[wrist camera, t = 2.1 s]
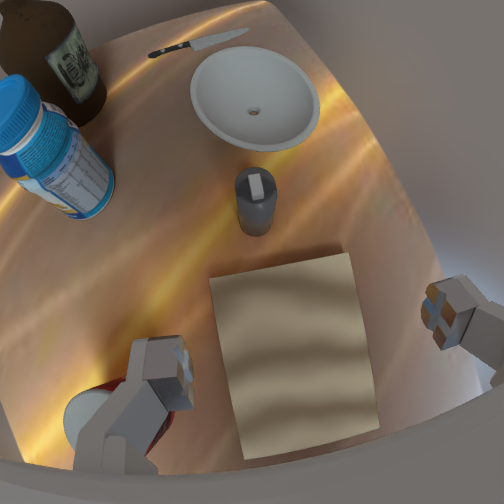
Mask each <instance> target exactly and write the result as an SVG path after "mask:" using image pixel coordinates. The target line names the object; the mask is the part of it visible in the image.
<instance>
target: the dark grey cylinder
mask: <svg viewBox="0 0 504 504" xmlns="http://www.w3.org/2000/svg"><path fill="white" fill-rule="evenodd" d="M235 192H236V200H237V208H238V216H239V222H240V226H241V228H242V230H243V231H244V232H245V233H246V234H248V235H250V236H262V235H264V234H265V233H267V232H268V231H269V229H270V228H271V225H272V220H273V215H274V210H275V205H276V199H277V188H276V184H275V180H274V178H273V176H272V175H271V174H270V173H269V172H268V171H267V170H265V169H262V168H259V167H251V168H248V169H245V170H243V171H242V172H241V173H240V174H239V175H238V176H237V178H236V181H235Z"/></svg>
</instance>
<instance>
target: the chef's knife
mask: <svg viewBox="0 0 504 504" xmlns="http://www.w3.org/2000/svg"><path fill="white" fill-rule="evenodd" d="M248 30H250V29H249V28H243V29H237V30H232V31H227V32H223V33H219V34H214V35H210V36H206V37H202V38H198V39H195V40H191V41H187V42H184V43H180V44H177V45H174V46H171V47H168V48H164V49H161V50H158V51H155V52H152V53H150V54H149V55H148V57H149V58H156V57H158V56H160V55H162V54H164V53H167V52H170V51H174V50H178V49H181V48H185V47H191V48H192V49H193V50H194V51H197V50H200V49H203V48H206V47H209V46H212V45H215V44H218V43H221V42H224V41H227V40H229V39H232V38H234V37H237V36H239V35H241V34H243V33H245V32H247V31H248Z"/></svg>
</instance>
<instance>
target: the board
mask: <svg viewBox="0 0 504 504" xmlns="http://www.w3.org/2000/svg"><path fill="white" fill-rule="evenodd" d="M209 284H210V290H211V296H212V302H213V307H214V313H215V319H216V324H217V330H218V335H219V341H220V346H221V351H222V356H223V361H224V367H225V372H226V377H227V382H228V387H229V391H230V396H231V401H232V406H233V410H234V415H235V420H236V424H237V429H238V433H239V438H240V442H241V447H242V451H243V455H244V460H248V459H254V458H261V457H266V456H272V455H278V454H283V453H288V452H293V451H297V450H302V449H306V448H311V447H315V446H319V445H323V444H327V443H331V442H334V441H338V440H342V439H345V438H349V437H352V436H355V435H359V434H362V433H365V432H368V431H371V430H374V429H377V428H379V419H378V411H377V403H376V396H375V389H374V382H373V375H372V369H371V362H370V356H369V351H368V345H367V339H366V334H365V328H364V323H363V318H362V313H361V308H360V303H359V298H358V293H357V289H356V284H355V279H354V275H353V271H352V266H351V262H350V258H349V253H342V254H337V255H332V256H327V257H322V258H317V259H312V260H306V261H301V262H296V263H291V264H285V265H280V266H275V267H269V268H264V269H259V270H253V271H248V272H242V273H237V274H231V275H226V276H220V277H215V278H209Z"/></svg>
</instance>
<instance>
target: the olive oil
mask: <svg viewBox="0 0 504 504" xmlns="http://www.w3.org/2000/svg"><path fill="white" fill-rule="evenodd" d="M0 13H1V14H2V16H3V22H2V26H1V29H0V66H1V67H2V69H3V70H4V71H5V72H6V73H7V74H8V76H10V75H14V74H19V75H22V76H23V77H25V78H26V79H27V80H28V81H29V82H30V83H31V85H32V86H33V87H34V88H35V90H36V91H37V92H38V94H39V96H40V99H41V102H47V103H50V104H53V105H55V106H57V107H59V108H60V109H61V110H62V111H63V112H64V113H65V115H66V117H67V118H68V119H70V120H71V121H72V122H73V123H74V124H75V125H76V126H77V127H80V126H82V125H84V124H85V123H87V122H88V121H90V120H91V119H92V118H93V117H94V116H95V115H96V114H97V113H98V112H99V111H100V109H101V108H102V106H103V105H104V102H105V100H106V95H107V92H106V88H105V86H104V84H103V82H102V80H101V78H100V76H99V74H98V72H99V71H98V70H99V69H98V67H97V65H96V63H95V62H93V61H92V59H91V57H90V55H89V53H88V51H87V48H86V46H85V44H84V42H83V40H82V37H81V35H80V33H79V30H78V28H77V25H76V23H75V21H74V19H73V17H72V15H71V14H70V13H69V11H68V10H67V9H66V8H65V7H63V6H62V5H60V4H59V3H55V2H52V1H41V0H0Z"/></svg>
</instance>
